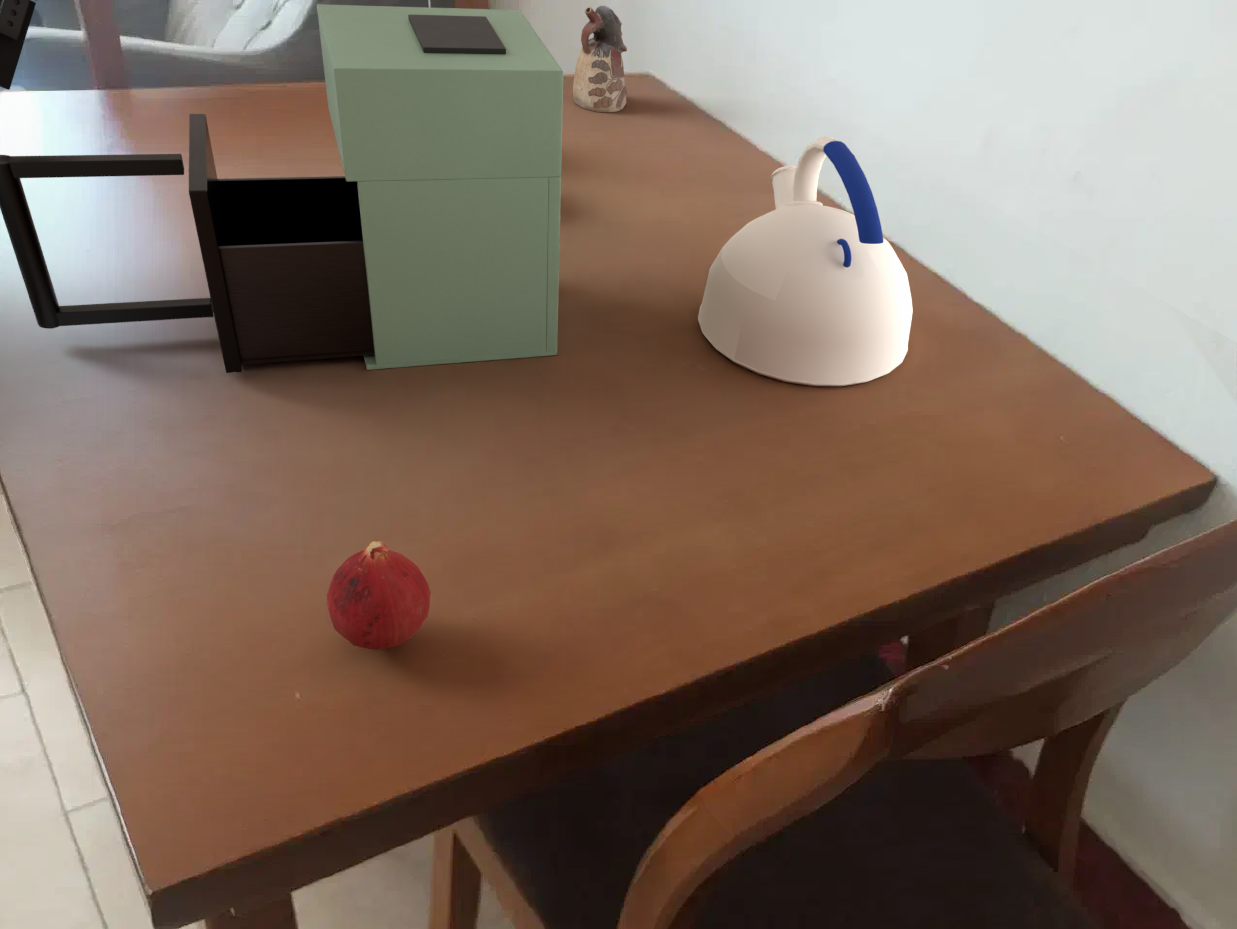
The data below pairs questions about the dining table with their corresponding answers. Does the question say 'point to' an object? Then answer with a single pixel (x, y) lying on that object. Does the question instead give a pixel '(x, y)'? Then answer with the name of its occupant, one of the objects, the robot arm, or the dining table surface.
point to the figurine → (601, 63)
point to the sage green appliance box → (450, 177)
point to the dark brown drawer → (227, 255)
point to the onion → (378, 598)
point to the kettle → (811, 283)
